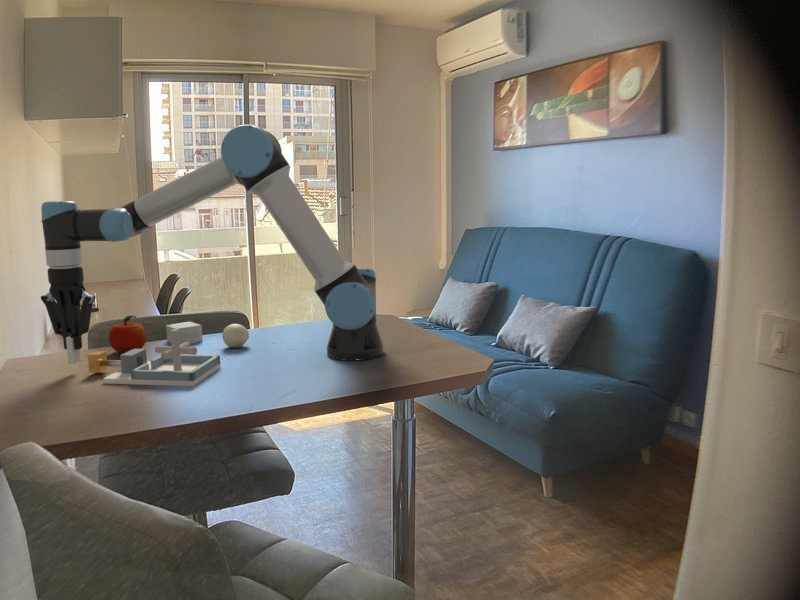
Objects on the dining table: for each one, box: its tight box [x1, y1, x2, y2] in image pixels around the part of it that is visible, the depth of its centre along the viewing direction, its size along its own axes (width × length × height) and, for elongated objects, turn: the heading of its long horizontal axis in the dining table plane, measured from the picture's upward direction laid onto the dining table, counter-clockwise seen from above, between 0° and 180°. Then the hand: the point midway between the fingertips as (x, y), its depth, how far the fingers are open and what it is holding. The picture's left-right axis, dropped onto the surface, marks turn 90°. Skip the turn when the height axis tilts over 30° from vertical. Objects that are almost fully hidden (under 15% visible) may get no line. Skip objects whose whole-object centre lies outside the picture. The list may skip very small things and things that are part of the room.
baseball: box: [222, 323, 250, 349], centre depth 178 cm, size 7×7×7 cm
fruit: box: [108, 315, 147, 355], centre depth 174 cm, size 10×10×10 cm
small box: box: [165, 321, 203, 344], centre depth 186 cm, size 8×8×5 cm
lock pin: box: [87, 350, 121, 374], centre depth 153 cm, size 11×3×4 cm, turn 82°
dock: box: [102, 348, 222, 387], centre depth 152 cm, size 22×15×6 cm
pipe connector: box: [154, 329, 198, 371], centre depth 151 cm, size 10×10×10 cm
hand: (74, 362), depth 155 cm, fingers closed
